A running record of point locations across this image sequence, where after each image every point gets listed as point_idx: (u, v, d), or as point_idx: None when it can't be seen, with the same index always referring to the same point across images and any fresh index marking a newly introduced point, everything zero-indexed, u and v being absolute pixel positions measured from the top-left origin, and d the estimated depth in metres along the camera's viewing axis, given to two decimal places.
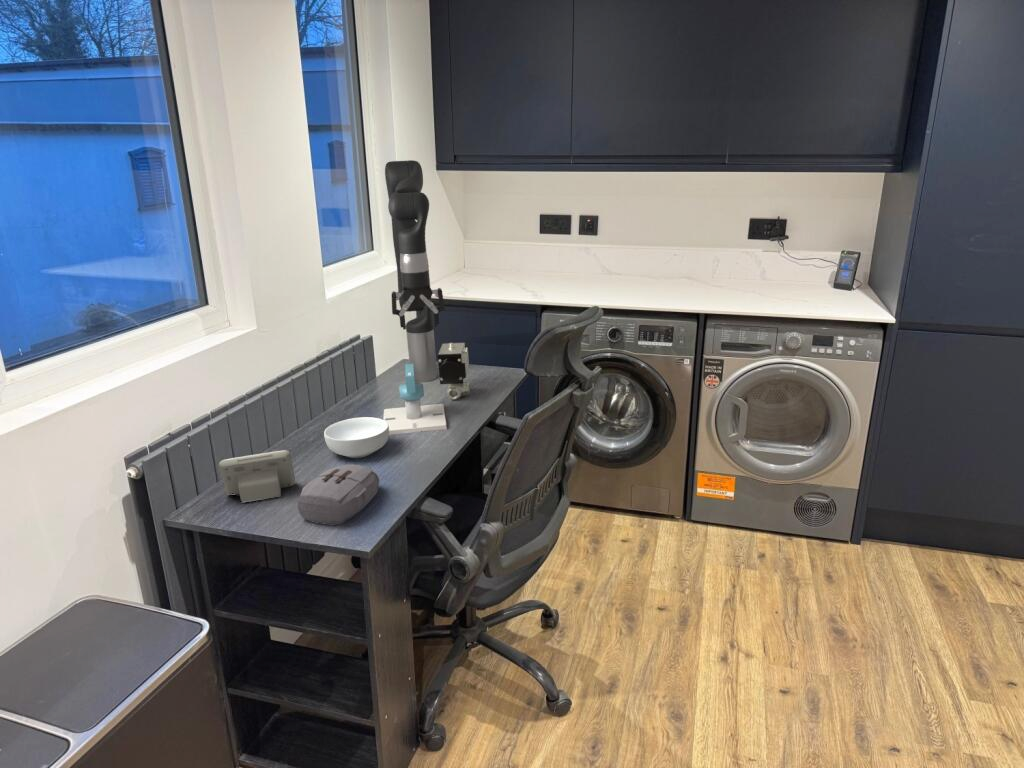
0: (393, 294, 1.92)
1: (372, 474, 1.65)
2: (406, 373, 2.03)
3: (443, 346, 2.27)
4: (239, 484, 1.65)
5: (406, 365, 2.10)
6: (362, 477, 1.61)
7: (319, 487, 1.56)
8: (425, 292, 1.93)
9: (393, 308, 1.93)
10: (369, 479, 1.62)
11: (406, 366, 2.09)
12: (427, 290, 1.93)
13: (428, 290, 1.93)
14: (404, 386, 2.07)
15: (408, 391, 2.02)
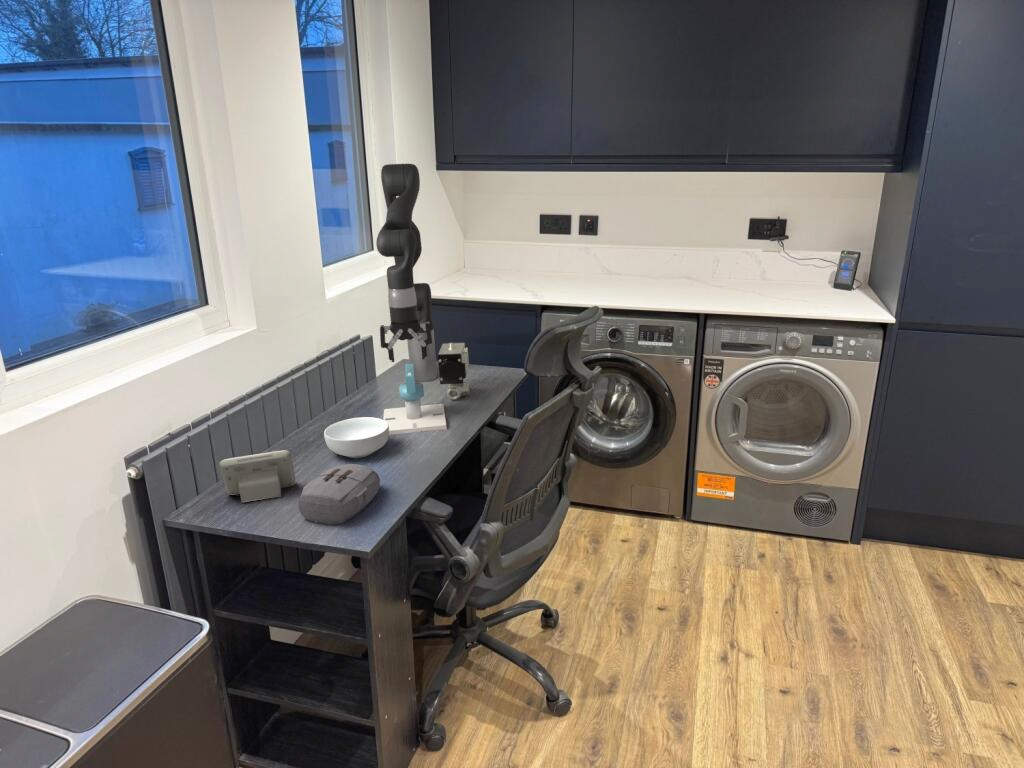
0: (381, 328, 1.96)
1: (373, 474, 1.65)
2: (406, 373, 2.03)
3: (443, 346, 2.27)
4: (239, 484, 1.65)
5: (406, 365, 2.10)
6: (363, 477, 1.61)
7: (320, 487, 1.57)
8: (413, 326, 1.97)
9: (381, 341, 1.97)
10: (370, 478, 1.63)
11: (406, 366, 2.09)
12: (415, 324, 1.97)
13: (416, 324, 1.97)
14: (404, 386, 2.07)
15: (408, 391, 2.02)
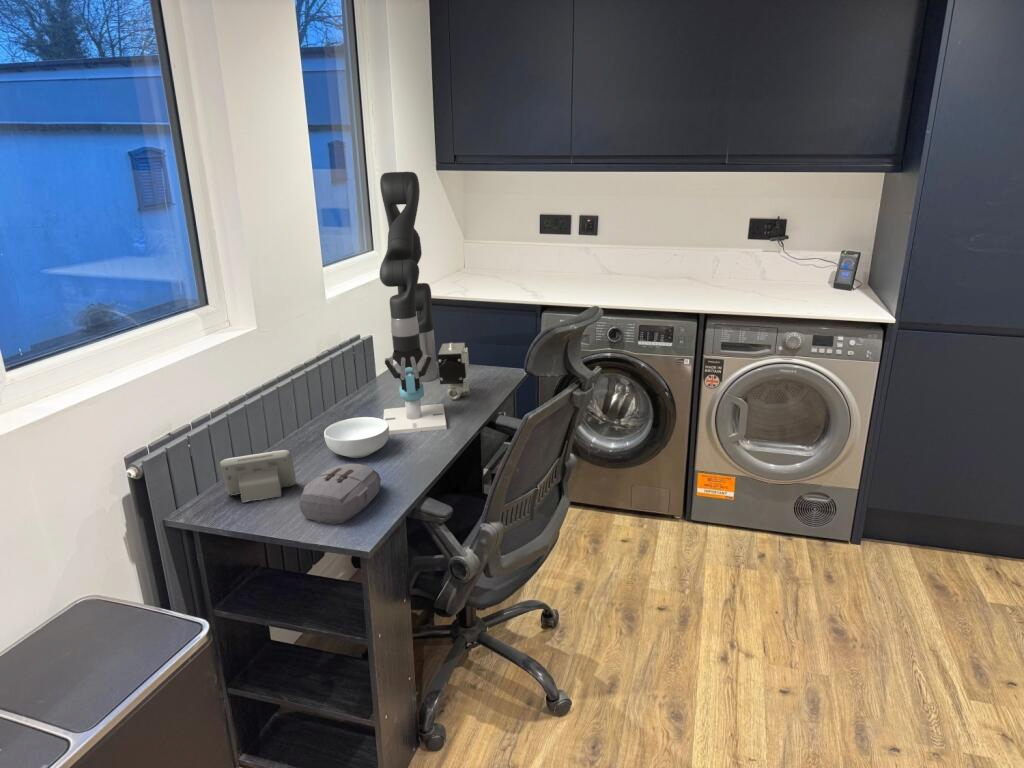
0: (386, 362, 1.99)
1: (374, 473, 1.66)
2: (406, 373, 2.03)
3: (443, 346, 2.27)
4: (239, 484, 1.65)
5: None
6: (363, 476, 1.61)
7: (321, 486, 1.57)
8: (416, 353, 1.99)
9: (393, 373, 2.00)
10: (370, 478, 1.63)
11: None
12: (419, 352, 1.99)
13: (420, 352, 1.99)
14: None
15: (408, 391, 2.02)
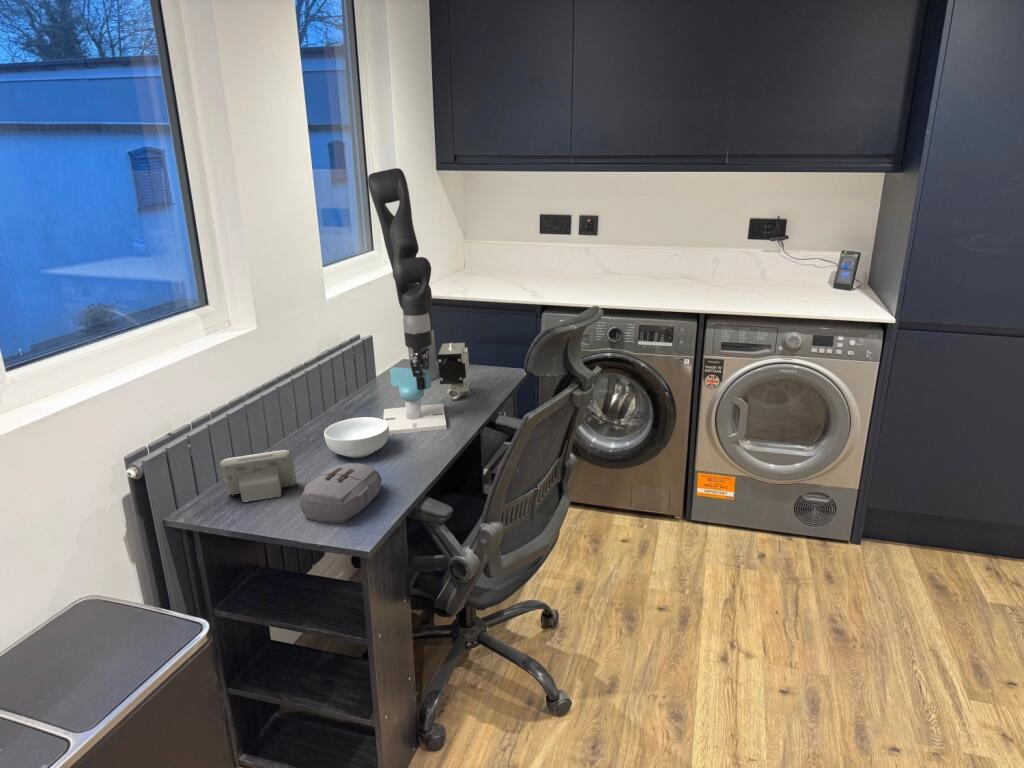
0: (419, 361, 1.97)
1: (374, 473, 1.66)
2: (417, 371, 2.04)
3: (443, 346, 2.27)
4: (240, 484, 1.65)
5: (394, 369, 2.07)
6: (364, 476, 1.61)
7: (322, 486, 1.57)
8: (425, 347, 2.05)
9: (421, 372, 1.99)
10: (371, 478, 1.63)
11: (397, 369, 2.06)
12: None
13: None
14: (406, 388, 2.06)
15: (427, 387, 2.04)
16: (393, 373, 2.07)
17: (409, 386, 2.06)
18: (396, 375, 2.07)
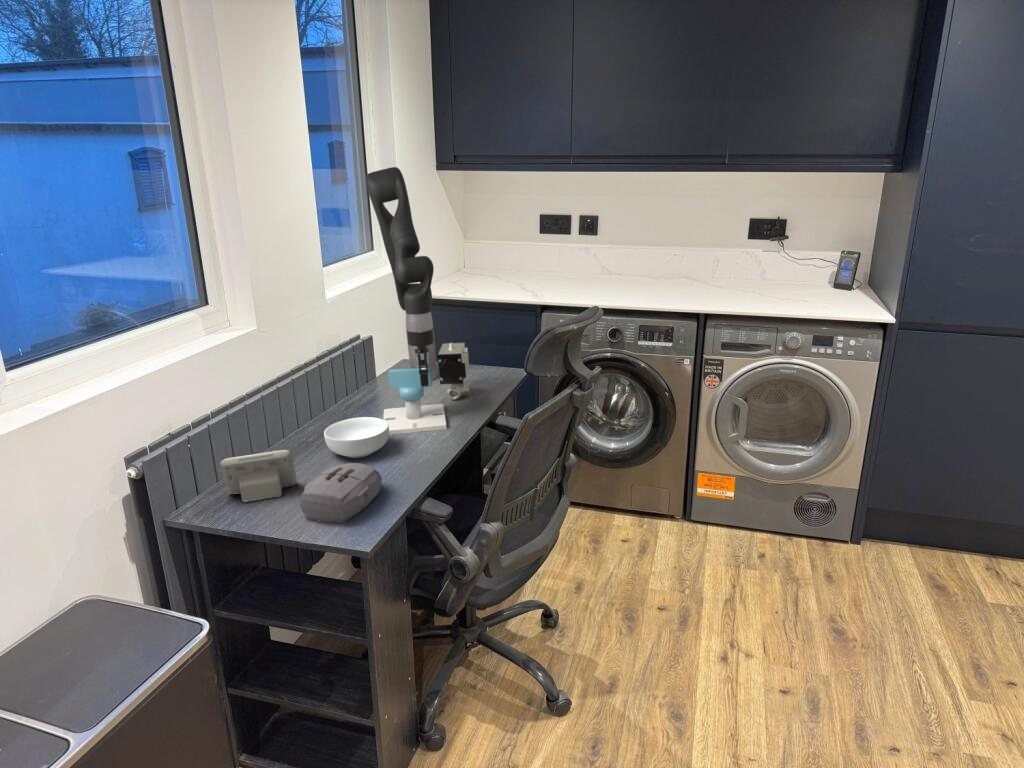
0: (426, 354, 1.99)
1: (375, 473, 1.66)
2: None
3: (443, 346, 2.27)
4: (240, 484, 1.65)
5: (393, 371, 2.05)
6: (364, 476, 1.62)
7: (322, 486, 1.57)
8: None
9: (427, 367, 1.99)
10: (371, 477, 1.63)
11: (396, 371, 2.05)
12: None
13: None
14: (409, 388, 2.06)
15: (431, 384, 2.06)
16: (392, 375, 2.05)
17: (411, 386, 2.06)
18: (396, 377, 2.05)
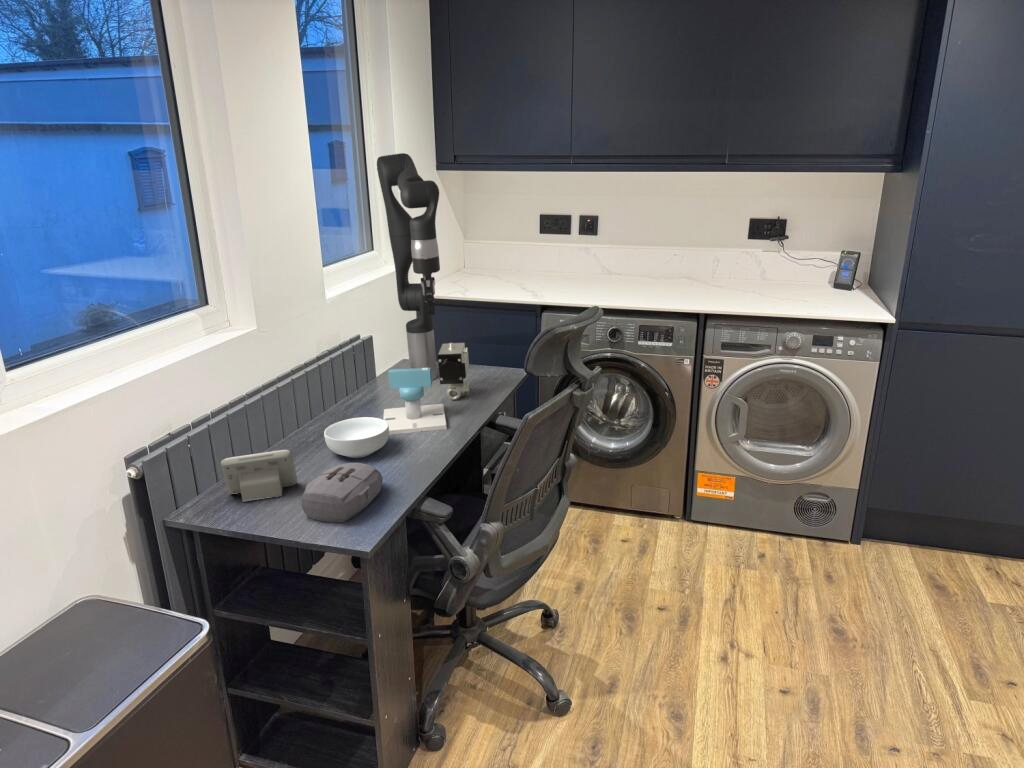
0: (432, 280, 1.96)
1: (375, 472, 1.66)
2: (420, 370, 2.05)
3: (443, 346, 2.27)
4: (240, 483, 1.65)
5: (393, 371, 2.05)
6: (365, 475, 1.62)
7: (323, 485, 1.57)
8: None
9: (433, 294, 1.97)
10: (372, 477, 1.63)
11: (396, 371, 2.05)
12: None
13: None
14: (409, 388, 2.06)
15: (431, 384, 2.06)
16: (392, 375, 2.05)
17: (411, 386, 2.06)
18: (396, 377, 2.05)
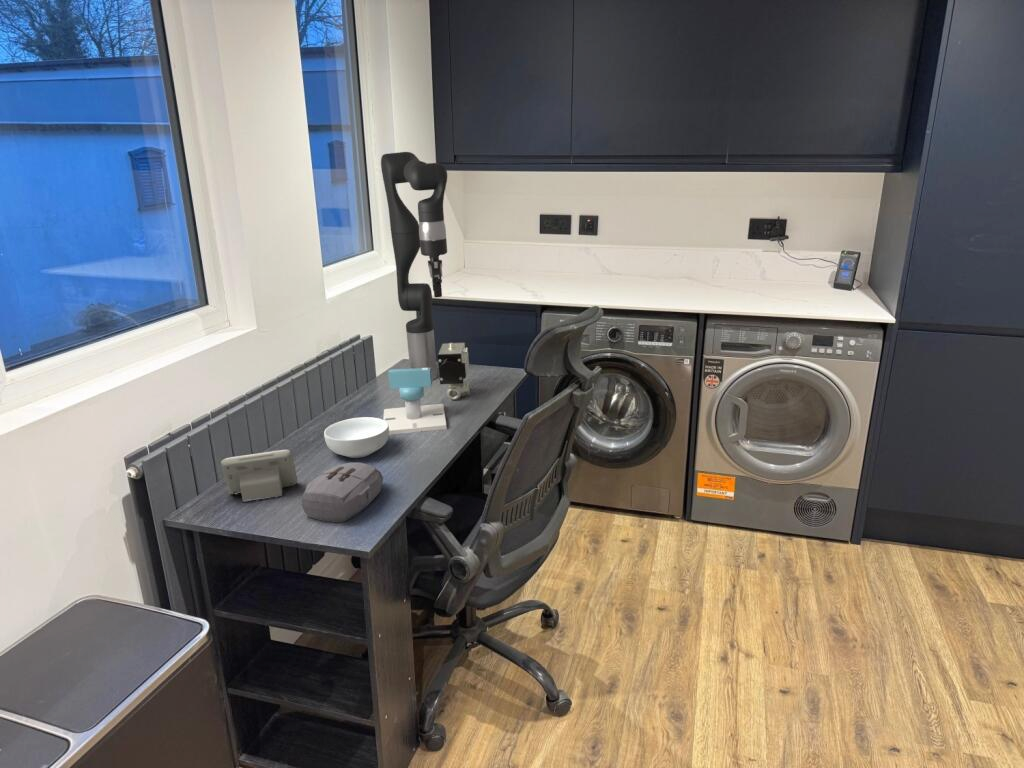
0: (440, 262, 1.97)
1: (376, 472, 1.66)
2: (420, 370, 2.05)
3: (443, 346, 2.27)
4: (240, 483, 1.66)
5: (393, 371, 2.05)
6: (365, 475, 1.62)
7: (323, 485, 1.57)
8: None
9: (441, 276, 1.98)
10: (372, 477, 1.63)
11: (396, 371, 2.05)
12: None
13: None
14: (409, 388, 2.06)
15: (431, 384, 2.06)
16: (392, 375, 2.05)
17: (411, 386, 2.06)
18: (396, 377, 2.05)
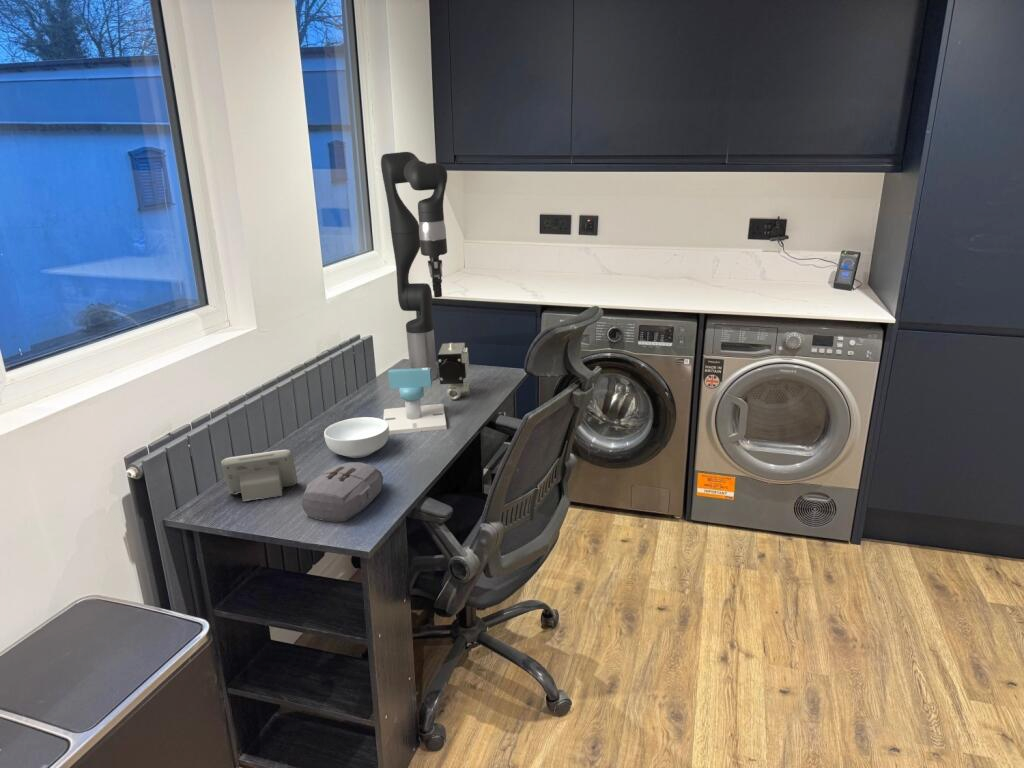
0: (440, 262, 1.97)
1: (376, 472, 1.66)
2: (420, 370, 2.05)
3: (443, 346, 2.27)
4: (240, 483, 1.66)
5: (393, 371, 2.05)
6: (366, 475, 1.62)
7: (323, 485, 1.58)
8: None
9: (441, 276, 1.98)
10: (373, 477, 1.63)
11: (396, 371, 2.05)
12: None
13: None
14: (409, 388, 2.06)
15: (431, 384, 2.06)
16: (392, 375, 2.05)
17: (411, 386, 2.06)
18: (396, 377, 2.05)
